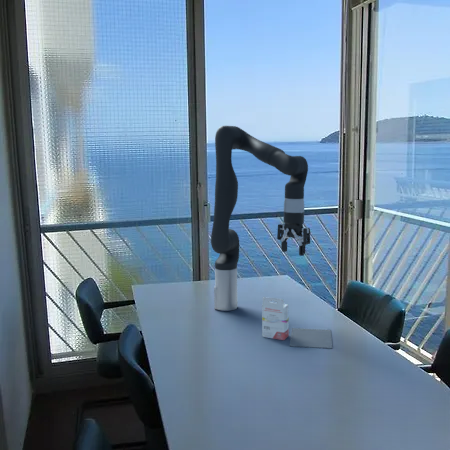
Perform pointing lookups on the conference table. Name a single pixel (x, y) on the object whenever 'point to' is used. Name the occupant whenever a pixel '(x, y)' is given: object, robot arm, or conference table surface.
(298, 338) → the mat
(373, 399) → the conference table surface
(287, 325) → the ink cartridge box
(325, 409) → the conference table surface
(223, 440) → the conference table surface
